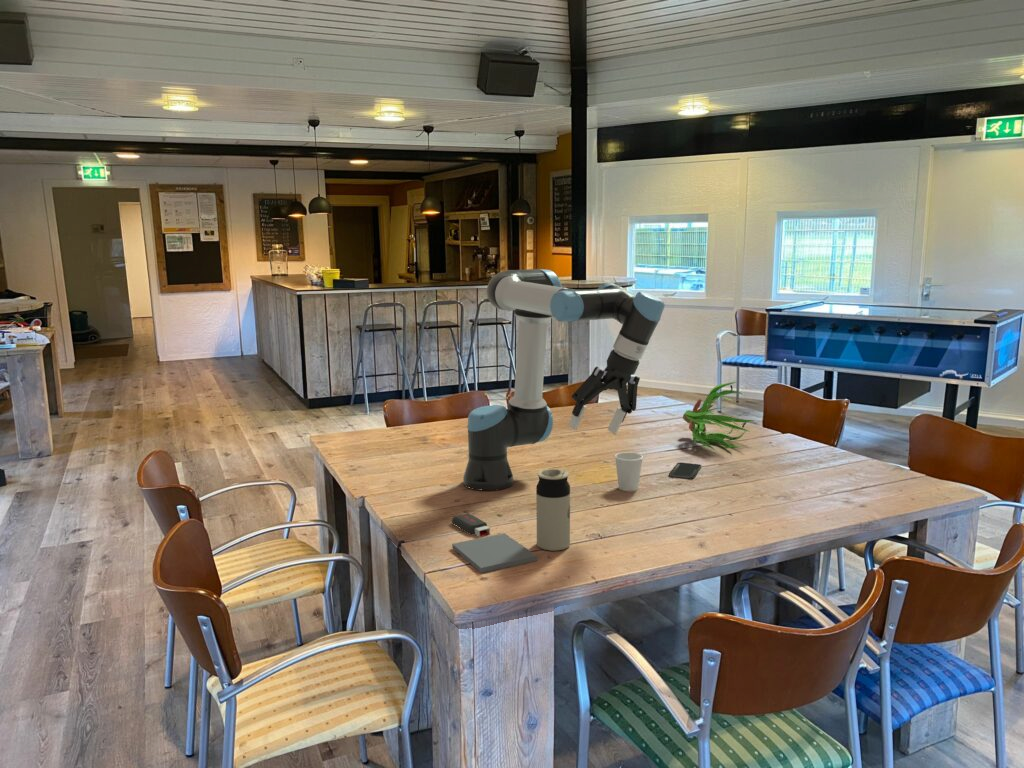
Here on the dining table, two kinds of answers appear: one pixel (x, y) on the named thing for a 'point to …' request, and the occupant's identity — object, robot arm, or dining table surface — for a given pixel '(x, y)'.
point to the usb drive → (471, 524)
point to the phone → (685, 470)
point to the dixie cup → (628, 470)
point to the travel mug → (553, 510)
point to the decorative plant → (712, 419)
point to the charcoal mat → (494, 552)
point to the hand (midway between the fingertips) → (592, 429)
